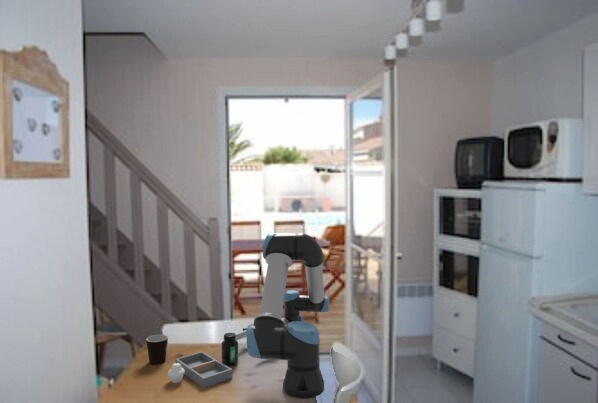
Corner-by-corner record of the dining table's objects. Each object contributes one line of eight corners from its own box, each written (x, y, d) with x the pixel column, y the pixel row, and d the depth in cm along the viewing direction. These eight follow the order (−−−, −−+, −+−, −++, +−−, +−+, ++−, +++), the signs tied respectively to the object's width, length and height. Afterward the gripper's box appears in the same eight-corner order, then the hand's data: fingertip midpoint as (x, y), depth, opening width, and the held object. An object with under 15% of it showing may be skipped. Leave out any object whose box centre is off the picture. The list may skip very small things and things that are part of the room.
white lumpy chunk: (167, 379, 161) (167, 361, 161) (184, 376, 164) (183, 358, 163) (168, 386, 156) (168, 367, 155) (185, 383, 158) (185, 365, 158)
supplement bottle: (236, 366, 173) (236, 337, 172) (220, 366, 173) (219, 337, 172) (239, 359, 180) (239, 331, 179) (223, 359, 180) (223, 331, 179)
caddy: (232, 378, 162) (232, 369, 162) (203, 388, 154) (203, 378, 154) (202, 359, 180) (202, 351, 180) (175, 367, 172) (175, 359, 172)
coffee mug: (161, 366, 172) (161, 342, 172) (142, 365, 174) (142, 341, 174) (175, 355, 184) (175, 333, 183) (157, 354, 185) (157, 331, 185)
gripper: (299, 342, 192) (267, 356, 176) (259, 330, 208) (226, 342, 191) (299, 325, 192) (267, 338, 176) (259, 315, 208) (226, 326, 191)
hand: (246, 340), depth 183 cm, fingers open, 13 cm apart
